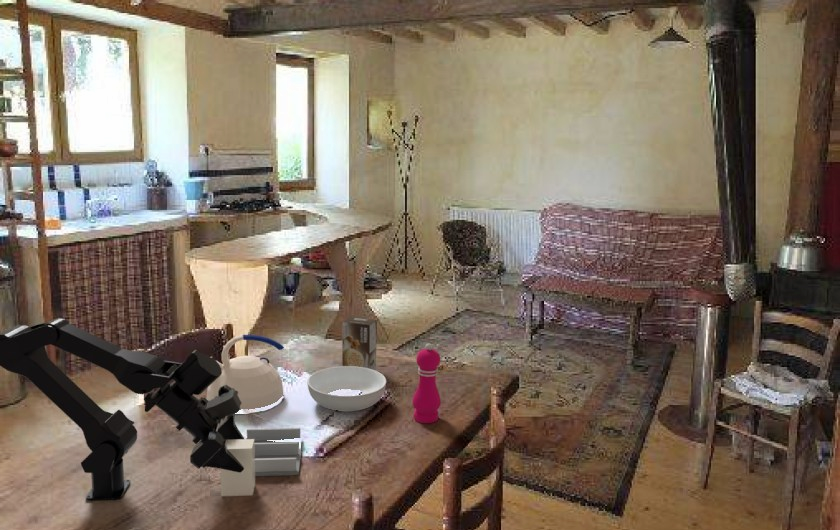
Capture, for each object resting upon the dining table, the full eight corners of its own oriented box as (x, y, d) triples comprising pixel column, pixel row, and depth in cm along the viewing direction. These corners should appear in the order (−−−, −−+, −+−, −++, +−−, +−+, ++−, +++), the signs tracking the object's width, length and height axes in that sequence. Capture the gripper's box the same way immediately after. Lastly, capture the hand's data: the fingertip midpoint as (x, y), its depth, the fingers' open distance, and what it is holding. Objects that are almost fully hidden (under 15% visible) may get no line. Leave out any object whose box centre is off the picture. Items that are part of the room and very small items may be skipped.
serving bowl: (294, 414, 166) (294, 389, 165) (325, 385, 186) (325, 362, 185) (371, 425, 161) (372, 399, 160) (395, 394, 181) (395, 370, 180)
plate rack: (298, 474, 137) (298, 459, 136) (234, 476, 135) (234, 461, 134) (302, 441, 152) (302, 427, 151) (245, 442, 150) (245, 428, 149)
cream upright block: (252, 495, 128) (251, 448, 127) (221, 496, 128) (220, 449, 126) (255, 484, 132) (254, 439, 130) (224, 485, 132) (223, 439, 130)
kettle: (202, 389, 180) (200, 326, 176) (278, 382, 187) (278, 321, 184) (206, 419, 161) (204, 350, 158) (290, 410, 169) (290, 343, 165)
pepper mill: (406, 420, 165) (409, 344, 161) (420, 410, 171) (422, 337, 167) (432, 426, 162) (435, 350, 158) (444, 416, 168) (448, 342, 164)
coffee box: (377, 370, 199) (378, 319, 196) (369, 377, 193) (370, 325, 190) (349, 366, 202) (350, 316, 199) (341, 372, 196) (341, 321, 193)
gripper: (206, 399, 116) (271, 453, 120) (221, 363, 134) (276, 411, 138) (162, 441, 116) (227, 494, 120) (182, 400, 134) (239, 447, 138)
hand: (245, 458), depth 129 cm, fingers open, 9 cm apart
